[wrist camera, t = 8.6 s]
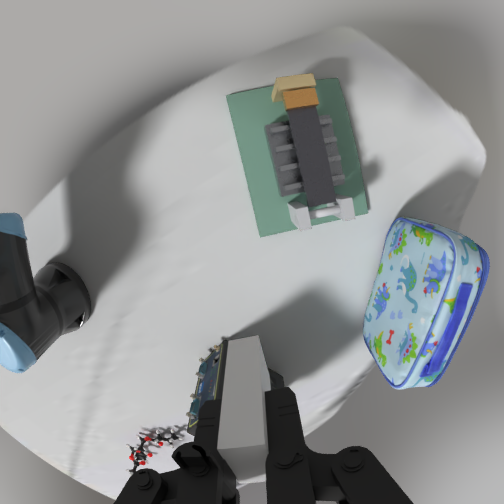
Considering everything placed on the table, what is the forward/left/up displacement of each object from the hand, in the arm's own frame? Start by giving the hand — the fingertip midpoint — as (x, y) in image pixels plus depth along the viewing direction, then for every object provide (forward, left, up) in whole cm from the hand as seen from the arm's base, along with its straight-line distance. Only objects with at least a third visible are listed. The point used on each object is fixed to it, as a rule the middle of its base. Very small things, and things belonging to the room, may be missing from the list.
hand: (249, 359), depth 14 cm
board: (+11, +10, -34) cm, 38 cm away
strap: (+11, +11, -27) cm, 31 cm away
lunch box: (+25, -16, -35) cm, 46 cm away
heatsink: (+11, +10, -34) cm, 37 cm away
